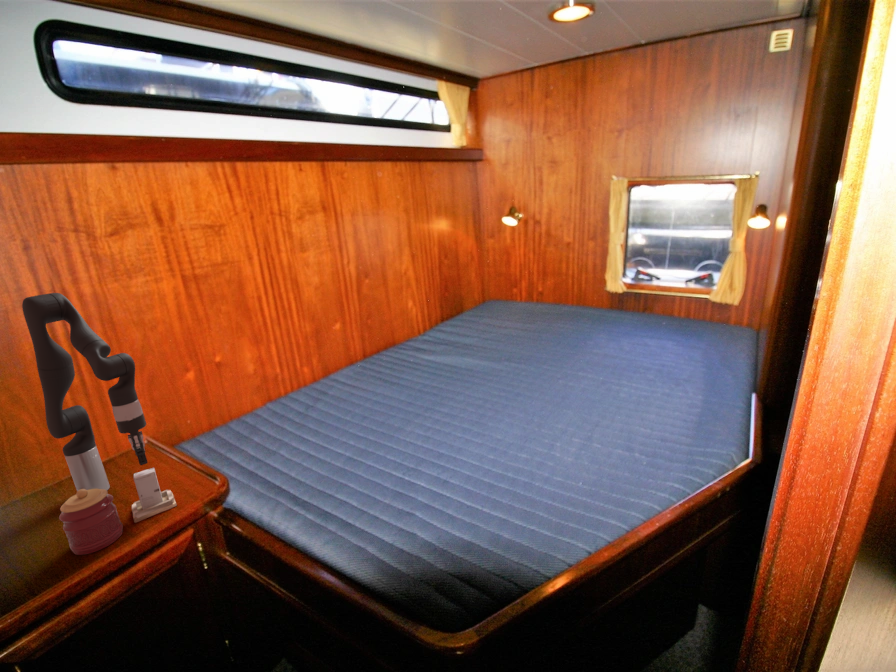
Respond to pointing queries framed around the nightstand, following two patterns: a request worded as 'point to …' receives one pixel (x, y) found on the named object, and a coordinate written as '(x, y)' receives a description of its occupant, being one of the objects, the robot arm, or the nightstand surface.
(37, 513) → the nightstand surface
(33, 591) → the nightstand surface
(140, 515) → the white shallow tray
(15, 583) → the nightstand surface
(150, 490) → the skincare box
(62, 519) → the canister
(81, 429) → the robot arm
